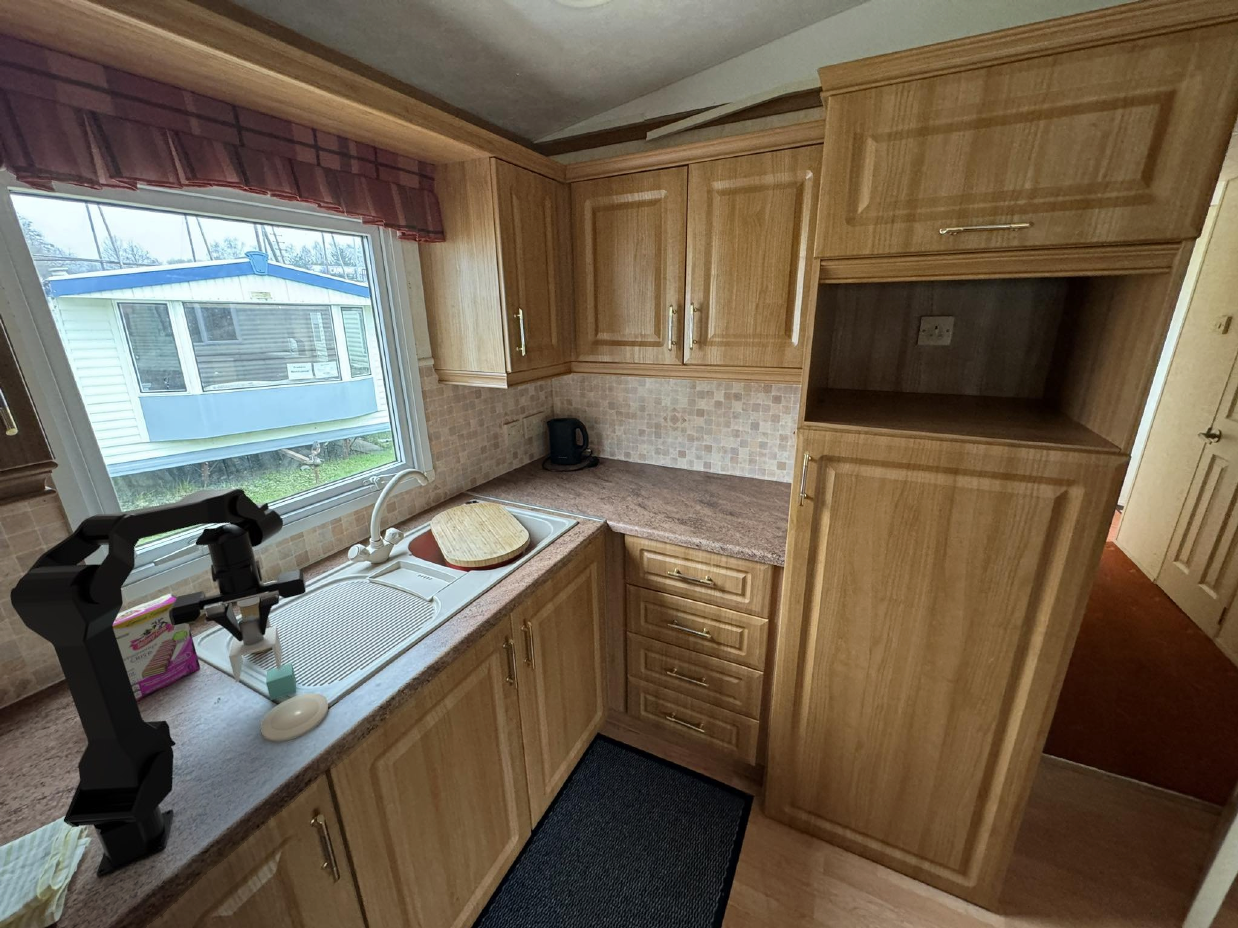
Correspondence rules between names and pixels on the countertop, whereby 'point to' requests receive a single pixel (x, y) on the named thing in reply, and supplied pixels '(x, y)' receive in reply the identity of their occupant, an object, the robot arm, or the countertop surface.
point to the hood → (253, 643)
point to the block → (281, 681)
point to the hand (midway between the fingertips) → (252, 636)
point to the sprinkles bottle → (251, 611)
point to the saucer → (294, 717)
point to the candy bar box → (154, 646)
